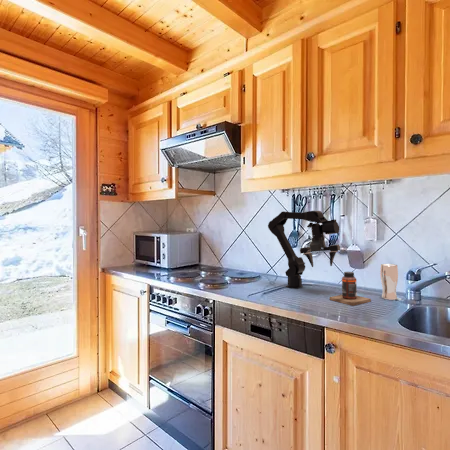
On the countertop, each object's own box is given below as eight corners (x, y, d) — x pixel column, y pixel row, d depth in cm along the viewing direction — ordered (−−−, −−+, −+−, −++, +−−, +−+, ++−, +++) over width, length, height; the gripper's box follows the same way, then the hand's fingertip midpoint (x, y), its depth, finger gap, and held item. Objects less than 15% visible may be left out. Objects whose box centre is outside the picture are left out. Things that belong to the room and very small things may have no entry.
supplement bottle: (359, 298, 133) (359, 272, 133) (350, 300, 130) (349, 273, 130) (348, 295, 138) (348, 270, 138) (339, 297, 136) (338, 271, 136)
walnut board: (329, 299, 136) (329, 297, 136) (347, 296, 142) (347, 293, 142) (352, 305, 126) (352, 302, 126) (370, 301, 132) (370, 298, 132)
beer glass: (377, 297, 139) (376, 264, 139) (388, 295, 142) (388, 263, 142) (390, 300, 133) (389, 266, 133) (402, 299, 135) (401, 265, 135)
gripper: (294, 237, 152) (298, 269, 151) (332, 233, 142) (337, 267, 141) (302, 237, 161) (305, 266, 160) (338, 233, 151) (342, 264, 150)
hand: (321, 266), depth 152 cm, fingers open, 9 cm apart
